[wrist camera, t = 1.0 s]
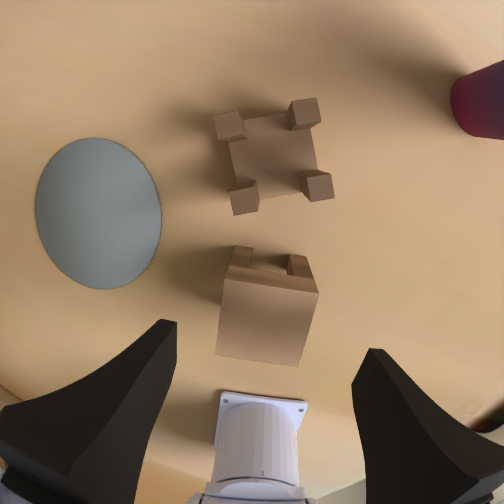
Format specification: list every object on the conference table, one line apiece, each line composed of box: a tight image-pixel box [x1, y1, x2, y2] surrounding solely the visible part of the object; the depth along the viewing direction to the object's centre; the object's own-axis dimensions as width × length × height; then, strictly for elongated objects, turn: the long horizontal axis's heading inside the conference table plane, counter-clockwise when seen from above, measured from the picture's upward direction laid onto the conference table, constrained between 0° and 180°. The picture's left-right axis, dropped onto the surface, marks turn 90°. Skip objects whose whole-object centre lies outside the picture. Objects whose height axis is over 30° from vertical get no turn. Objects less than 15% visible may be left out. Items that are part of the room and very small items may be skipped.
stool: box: [215, 246, 319, 367], centre depth 20 cm, size 5×5×6 cm
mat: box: [35, 138, 162, 289], centre depth 21 cm, size 12×12×1 cm
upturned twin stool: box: [213, 98, 335, 216], centre depth 17 cm, size 5×5×6 cm
